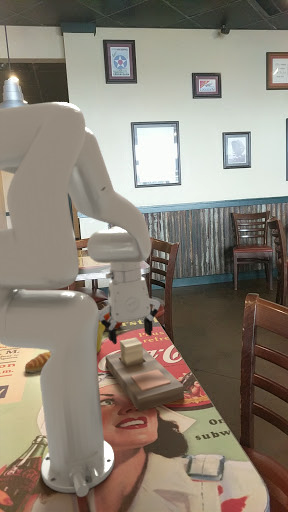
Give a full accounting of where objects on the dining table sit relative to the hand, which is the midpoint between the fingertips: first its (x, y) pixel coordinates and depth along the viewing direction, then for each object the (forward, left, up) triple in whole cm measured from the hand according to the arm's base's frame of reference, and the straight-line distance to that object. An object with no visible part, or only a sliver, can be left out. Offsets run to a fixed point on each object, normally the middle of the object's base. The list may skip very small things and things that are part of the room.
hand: (131, 338), depth 99 cm
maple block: (-1, 0, -9) cm, 9 cm away
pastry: (+14, +21, -9) cm, 27 cm away
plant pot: (+17, +7, -9) cm, 21 cm away
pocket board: (-7, 0, -9) cm, 11 cm away
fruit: (+31, -5, -9) cm, 33 cm away
